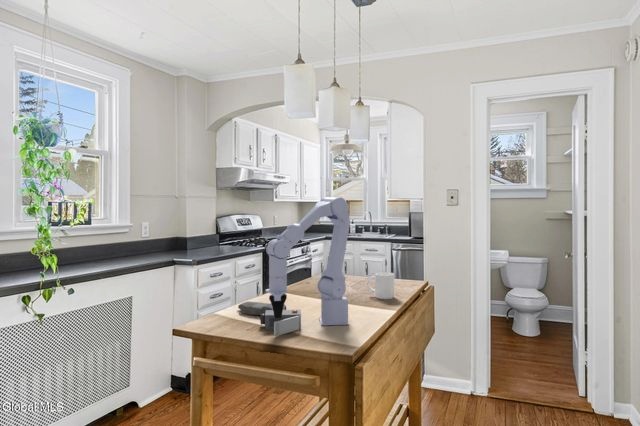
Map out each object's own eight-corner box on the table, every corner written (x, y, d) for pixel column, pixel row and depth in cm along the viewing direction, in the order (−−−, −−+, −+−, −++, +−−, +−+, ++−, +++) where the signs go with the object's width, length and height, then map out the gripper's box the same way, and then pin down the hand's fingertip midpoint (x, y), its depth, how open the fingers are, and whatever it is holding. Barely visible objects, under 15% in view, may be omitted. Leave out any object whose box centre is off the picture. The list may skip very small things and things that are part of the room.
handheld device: (246, 307, 174) (246, 296, 173) (288, 314, 164) (288, 302, 164) (230, 313, 165) (230, 301, 165) (274, 321, 156) (274, 308, 155)
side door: (299, 328, 145) (299, 315, 145) (302, 329, 145) (302, 315, 144) (273, 336, 138) (273, 322, 138) (276, 337, 137) (276, 322, 137)
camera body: (300, 323, 152) (300, 307, 151) (300, 329, 146) (300, 312, 145) (261, 324, 151) (261, 308, 150) (260, 330, 145) (260, 313, 144)
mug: (364, 297, 189) (364, 274, 188) (370, 293, 196) (370, 270, 196) (391, 300, 184) (391, 276, 183) (396, 296, 191) (396, 272, 191)
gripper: (266, 272, 148) (266, 311, 149) (264, 280, 134) (264, 324, 135) (287, 272, 149) (287, 311, 150) (287, 280, 135) (287, 323, 135)
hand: (278, 317), depth 142 cm, fingers closed
